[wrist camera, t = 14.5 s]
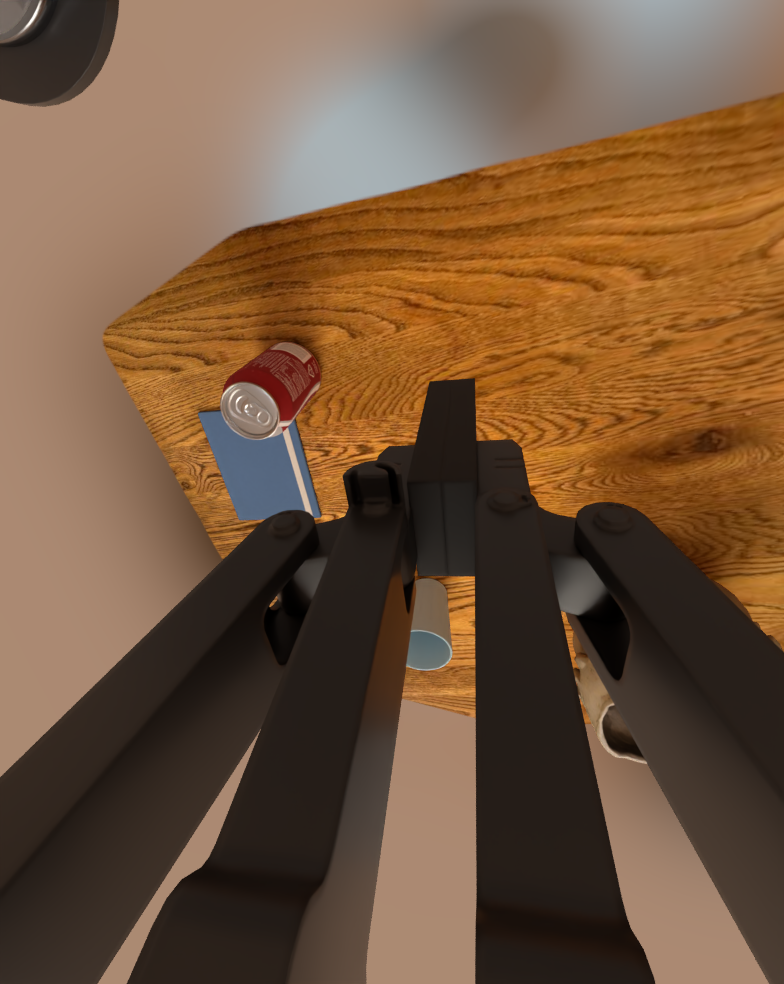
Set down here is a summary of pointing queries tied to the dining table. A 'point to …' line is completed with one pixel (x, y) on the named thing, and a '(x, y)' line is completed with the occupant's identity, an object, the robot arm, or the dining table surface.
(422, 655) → the cup
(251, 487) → the cloth
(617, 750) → the clay pot
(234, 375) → the soda can
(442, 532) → the robot arm
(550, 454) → the dining table surface
